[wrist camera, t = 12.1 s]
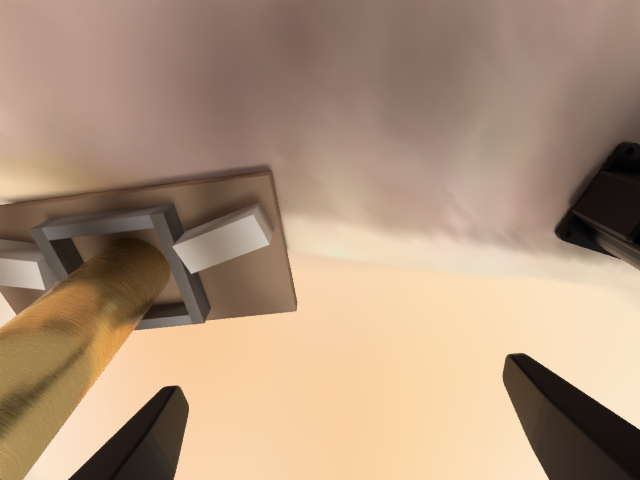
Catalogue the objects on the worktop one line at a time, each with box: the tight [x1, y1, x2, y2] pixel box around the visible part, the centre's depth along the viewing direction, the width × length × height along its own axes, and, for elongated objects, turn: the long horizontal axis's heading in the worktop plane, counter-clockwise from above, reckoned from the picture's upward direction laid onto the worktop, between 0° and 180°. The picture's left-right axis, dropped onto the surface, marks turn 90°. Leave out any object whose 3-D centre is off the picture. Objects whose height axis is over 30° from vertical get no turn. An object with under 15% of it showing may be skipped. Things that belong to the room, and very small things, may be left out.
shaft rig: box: [0, 171, 297, 330], centre depth 21 cm, size 20×10×3 cm, turn 97°
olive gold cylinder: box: [0, 238, 170, 480], centre depth 16 cm, size 4×4×12 cm
